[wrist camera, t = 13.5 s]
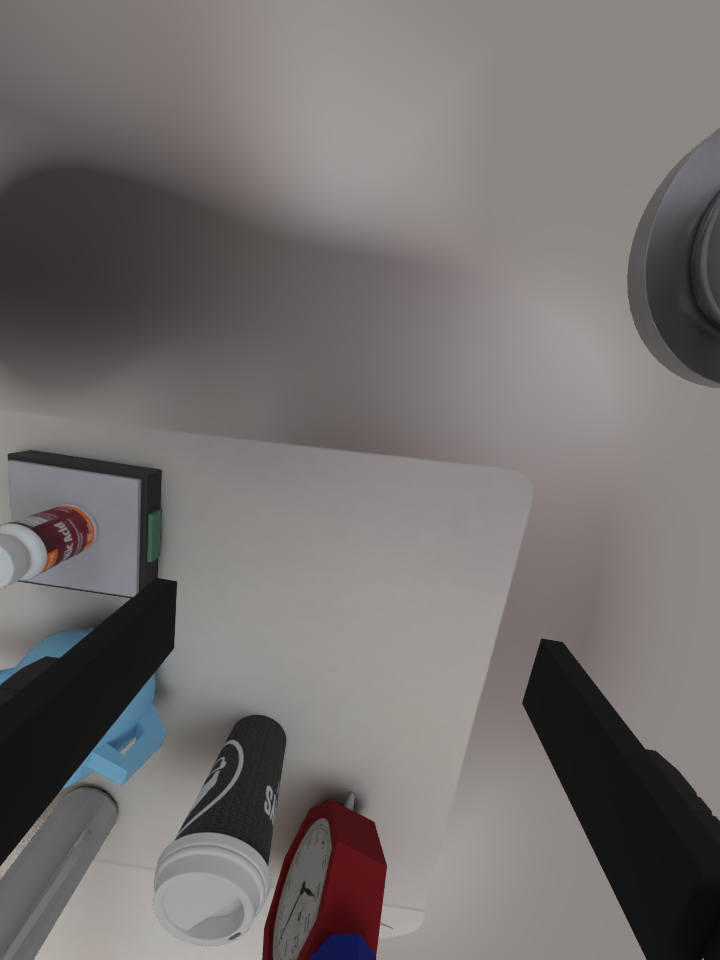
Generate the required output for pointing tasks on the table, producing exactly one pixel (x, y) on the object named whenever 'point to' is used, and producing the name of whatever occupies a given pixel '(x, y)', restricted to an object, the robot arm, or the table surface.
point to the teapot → (131, 723)
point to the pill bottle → (43, 541)
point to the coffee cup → (224, 841)
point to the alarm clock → (328, 889)
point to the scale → (115, 508)
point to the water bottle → (51, 870)
